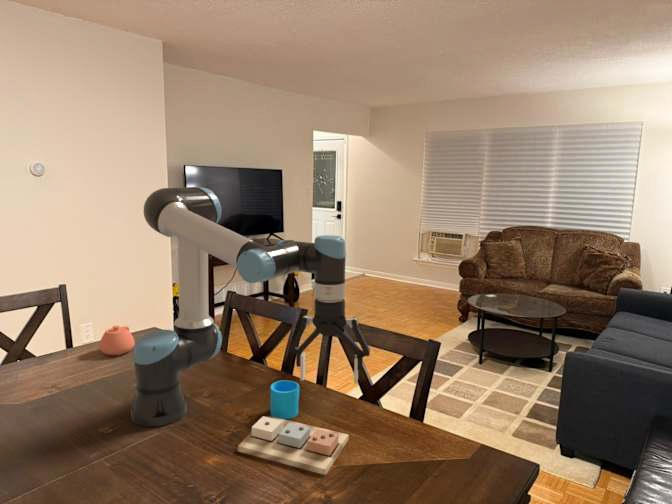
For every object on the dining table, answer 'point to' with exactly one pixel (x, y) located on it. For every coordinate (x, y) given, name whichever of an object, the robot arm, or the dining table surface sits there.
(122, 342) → the sugar bowl
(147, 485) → the dining table surface
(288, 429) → the tile two
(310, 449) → the tile three
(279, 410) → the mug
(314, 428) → the board
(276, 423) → the tile one
